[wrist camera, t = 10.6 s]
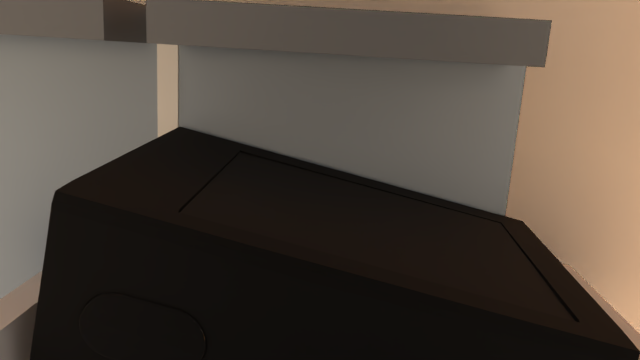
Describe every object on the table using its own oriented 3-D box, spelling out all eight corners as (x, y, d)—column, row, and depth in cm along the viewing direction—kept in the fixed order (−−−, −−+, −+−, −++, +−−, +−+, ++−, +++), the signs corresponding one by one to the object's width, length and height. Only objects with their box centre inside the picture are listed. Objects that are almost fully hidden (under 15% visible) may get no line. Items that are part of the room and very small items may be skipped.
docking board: (518, 30, 16) (575, 22, 12) (449, 539, 20) (473, 663, 16) (-136, -8, 17) (-293, -28, 13) (-77, 485, 21) (-181, 589, 17)
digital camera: (143, 290, 17) (5, 455, 10) (176, 124, 16) (42, 191, 9) (461, 377, 17) (529, 596, 10) (522, 220, 16) (647, 358, 9)
